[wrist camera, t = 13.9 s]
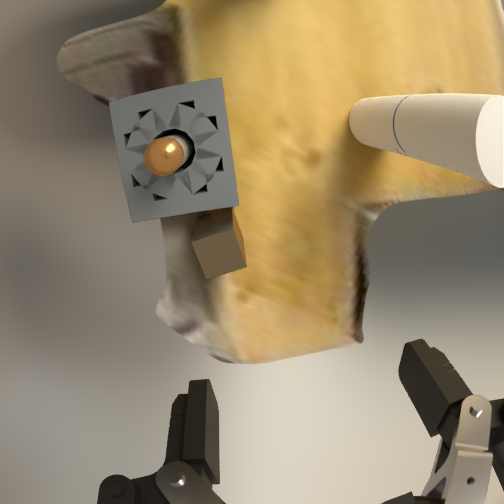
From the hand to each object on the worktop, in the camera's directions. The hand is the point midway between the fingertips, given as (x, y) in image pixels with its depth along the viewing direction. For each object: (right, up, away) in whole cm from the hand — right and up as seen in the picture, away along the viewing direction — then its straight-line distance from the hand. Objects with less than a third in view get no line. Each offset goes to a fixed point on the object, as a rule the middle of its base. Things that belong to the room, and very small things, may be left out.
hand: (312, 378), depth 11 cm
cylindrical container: (+14, +23, +27) cm, 39 cm away
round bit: (-12, +19, +27) cm, 35 cm away
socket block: (-12, +19, +27) cm, 35 cm away
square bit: (-7, +8, +32) cm, 34 cm away
